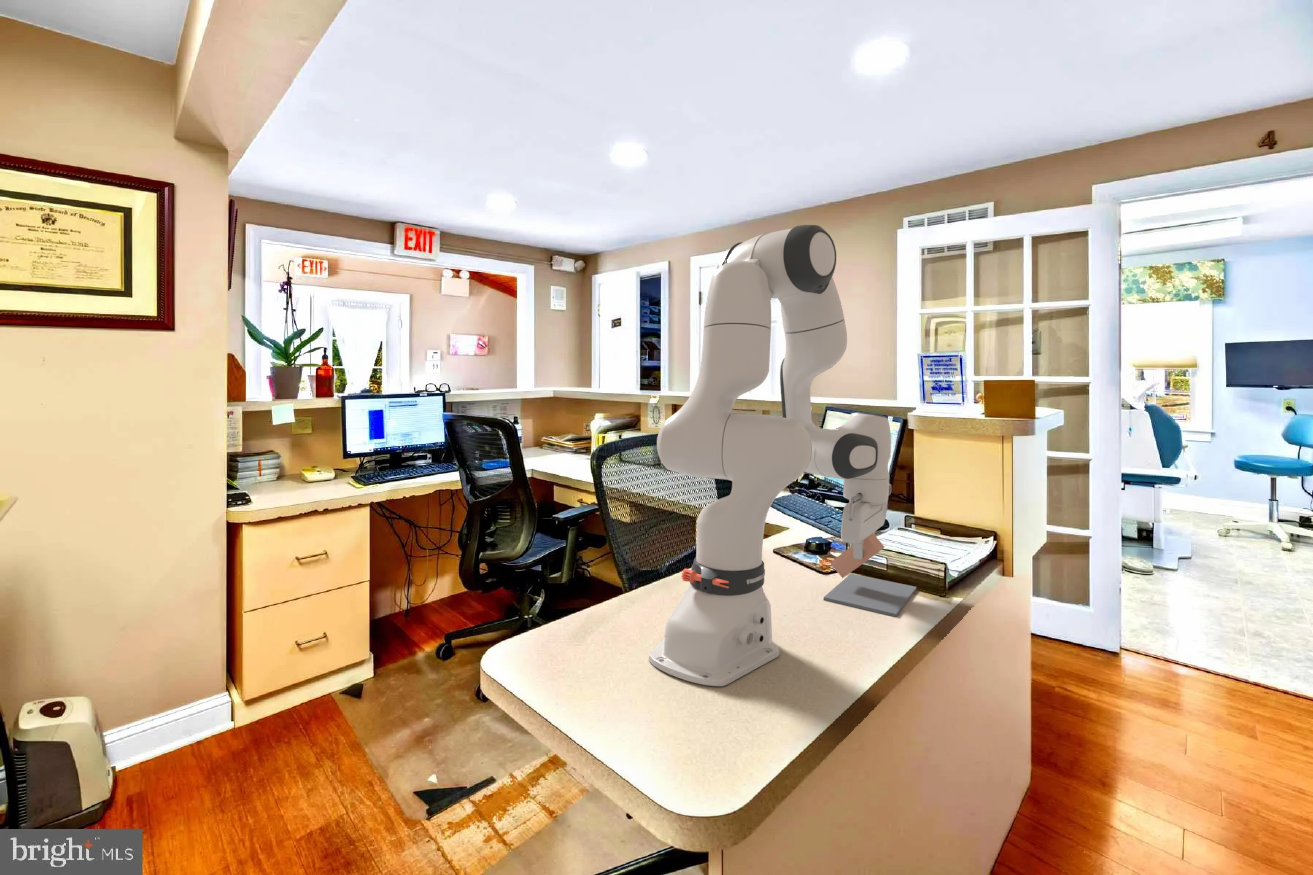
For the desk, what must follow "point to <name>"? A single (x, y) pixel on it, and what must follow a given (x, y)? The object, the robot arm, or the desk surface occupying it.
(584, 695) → the desk surface
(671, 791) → the desk surface
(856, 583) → the mat
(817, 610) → the desk surface
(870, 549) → the block
